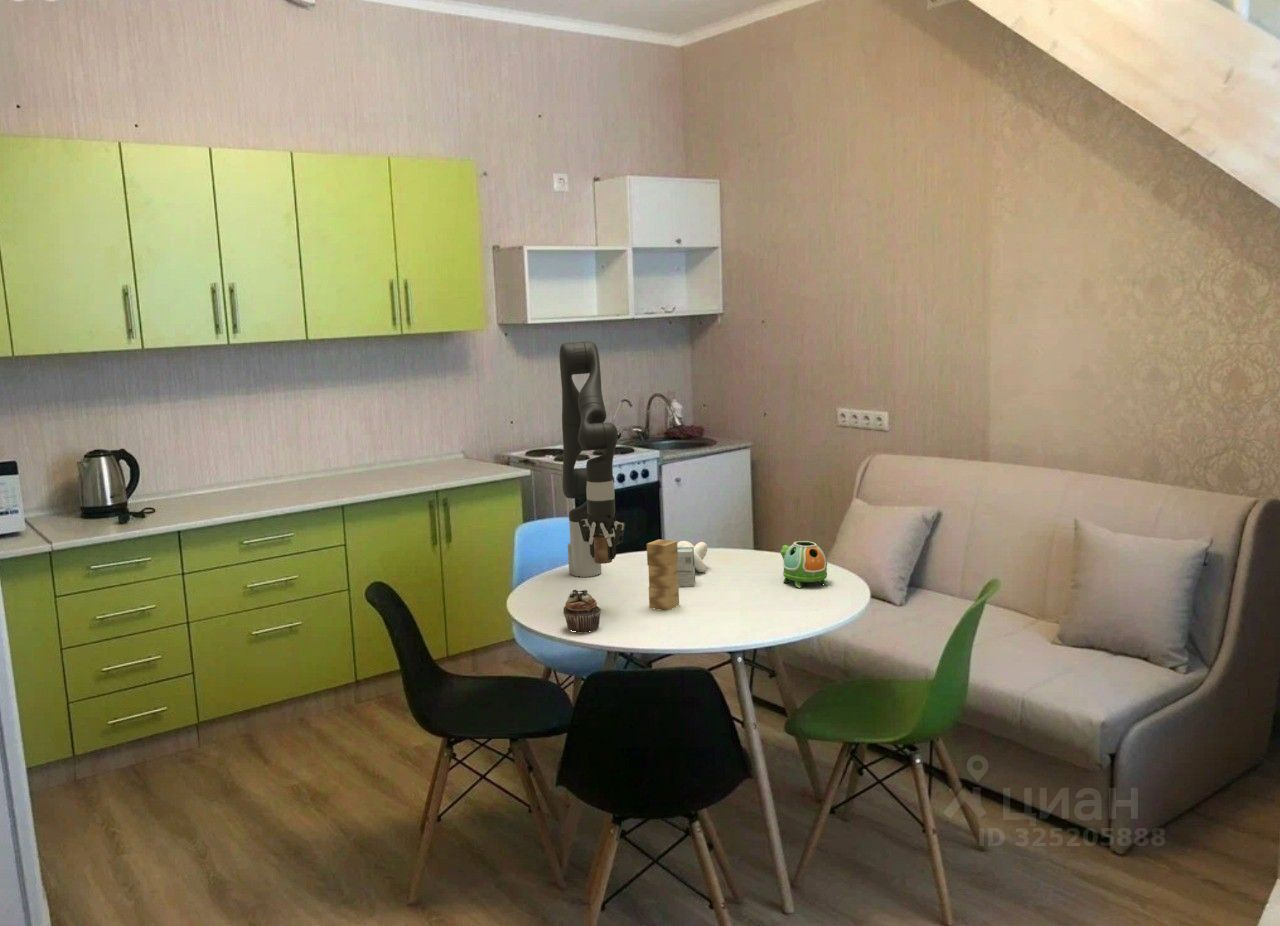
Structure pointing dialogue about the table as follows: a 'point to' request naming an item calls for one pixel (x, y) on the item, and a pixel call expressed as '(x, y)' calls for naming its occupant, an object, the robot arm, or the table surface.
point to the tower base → (664, 598)
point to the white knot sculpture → (696, 553)
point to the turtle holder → (804, 563)
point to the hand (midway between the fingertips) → (603, 557)
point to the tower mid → (663, 577)
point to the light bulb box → (686, 566)
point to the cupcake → (581, 612)
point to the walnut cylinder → (601, 549)
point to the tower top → (662, 553)
